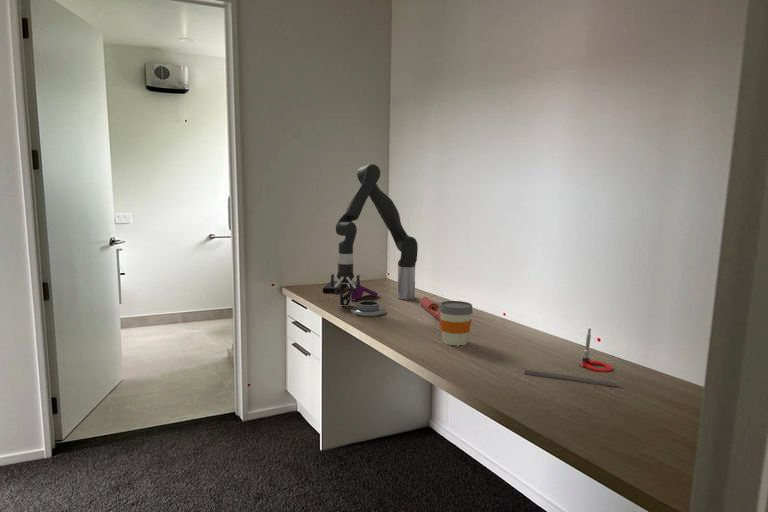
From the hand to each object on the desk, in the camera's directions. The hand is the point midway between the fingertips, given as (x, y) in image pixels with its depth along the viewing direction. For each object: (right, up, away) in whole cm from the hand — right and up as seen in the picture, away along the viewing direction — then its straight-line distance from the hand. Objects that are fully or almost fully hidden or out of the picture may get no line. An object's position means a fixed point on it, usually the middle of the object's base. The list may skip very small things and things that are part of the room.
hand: (345, 295), depth 255 cm
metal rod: (+77, -20, -93) cm, 122 cm away
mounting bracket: (+7, -3, +22) cm, 23 cm away
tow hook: (+90, -19, -81) cm, 123 cm away
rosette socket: (+12, -7, -12) cm, 18 cm away
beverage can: (0, -6, +1) cm, 6 cm away
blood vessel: (+44, -9, -16) cm, 48 cm away
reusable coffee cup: (+46, -14, -56) cm, 74 cm away
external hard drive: (-7, 0, +42) cm, 43 cm away
